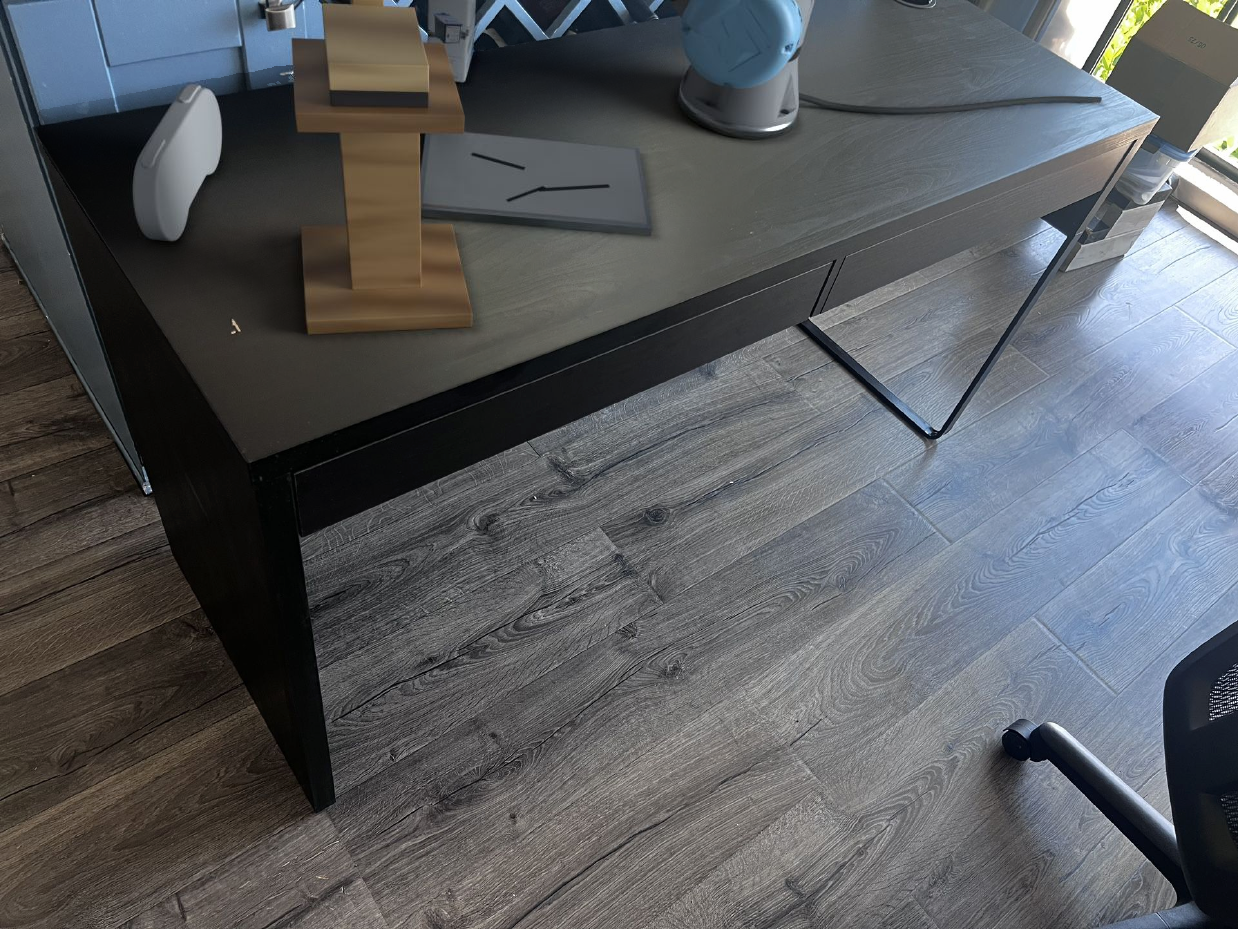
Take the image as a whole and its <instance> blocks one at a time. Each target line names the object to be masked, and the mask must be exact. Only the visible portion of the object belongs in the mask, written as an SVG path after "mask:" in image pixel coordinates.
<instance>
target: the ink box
mask: <svg viewBox="0 0 1238 929" xmlns="http://www.w3.org/2000/svg"><path fill="white" fill-rule="evenodd" d="M427 4H428V5H427V42H426V43H444V44H445V48H446V51H447V55H448V58H449V62H450V66H451V69H452V73H453V76H454V80H455V82H459V83H464V82H466V79H467V76H468V72H469V69H470V65H471V62H472V58H473V55H474V44H475V28H476V27H475V25H476V5H477V0H428V2H427Z"/></svg>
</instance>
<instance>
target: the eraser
mask: <svg viewBox="0 0 1238 929" xmlns="http://www.w3.org/2000/svg"><path fill="white" fill-rule="evenodd" d="M350 4H351V5H349V4H327V3H322V8H321V15H322V27H323V36H324V37H323V39H325V50H326V60H327V70H328V80H329V90H330V100H331V106H355V107H416V108H429V66H428V62H427V58H426V53H425V49H424V45H423V43H424V42H423V37H422V34H421V30H420V26H419V21H418V17H417V13H416V10H415V7H414V6H413V7H412V6H392V5H385V0H350Z"/></svg>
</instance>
